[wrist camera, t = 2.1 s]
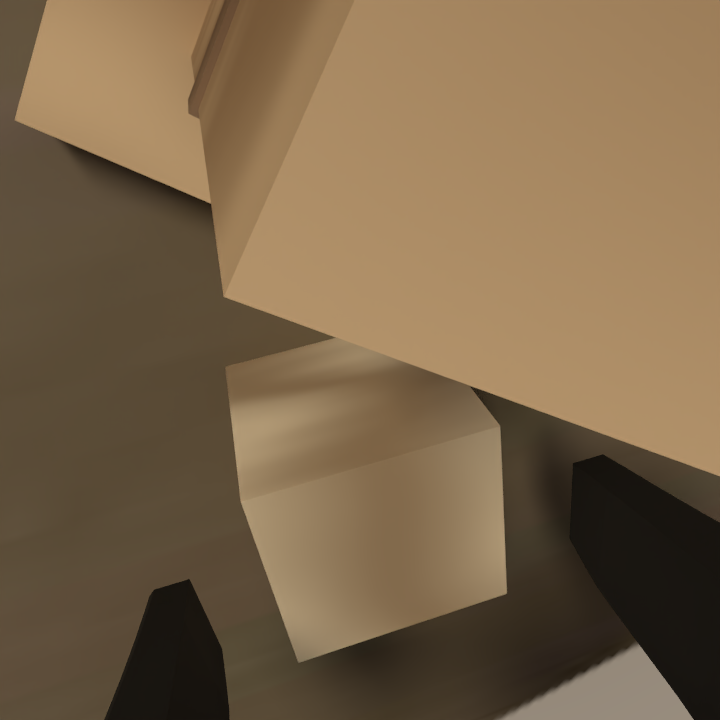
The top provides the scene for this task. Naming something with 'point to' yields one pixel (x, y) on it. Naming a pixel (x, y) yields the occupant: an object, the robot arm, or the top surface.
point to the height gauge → (438, 180)
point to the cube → (366, 491)
